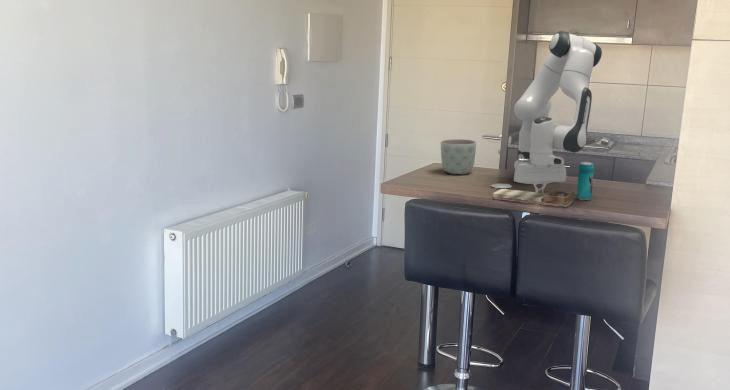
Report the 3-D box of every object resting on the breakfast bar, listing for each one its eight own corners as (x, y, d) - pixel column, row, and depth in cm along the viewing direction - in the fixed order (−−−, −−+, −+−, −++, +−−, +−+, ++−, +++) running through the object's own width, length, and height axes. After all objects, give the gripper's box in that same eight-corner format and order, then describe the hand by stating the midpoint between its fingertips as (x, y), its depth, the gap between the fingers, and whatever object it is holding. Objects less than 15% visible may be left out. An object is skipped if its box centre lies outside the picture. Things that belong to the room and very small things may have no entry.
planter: (466, 177, 334) (466, 145, 331) (433, 174, 343) (434, 142, 340) (481, 171, 348) (482, 140, 345) (449, 168, 357) (450, 138, 354)
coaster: (499, 183, 321) (499, 182, 321) (515, 187, 314) (515, 185, 314) (486, 186, 315) (486, 185, 315) (503, 190, 308) (503, 188, 308)
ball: (559, 194, 287) (568, 196, 285) (555, 203, 287) (565, 206, 285) (557, 190, 284) (567, 193, 282) (553, 199, 283) (563, 202, 281)
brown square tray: (541, 204, 283) (541, 195, 282) (548, 199, 291) (548, 190, 290) (566, 207, 278) (567, 197, 277) (573, 202, 286) (573, 192, 285)
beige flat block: (492, 199, 292) (493, 193, 292) (501, 194, 301) (501, 188, 300) (541, 204, 283) (541, 198, 282) (548, 199, 291) (548, 193, 290)
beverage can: (589, 201, 287) (591, 164, 284) (575, 200, 290) (577, 163, 287) (593, 198, 292) (595, 162, 288) (579, 197, 295) (581, 161, 291)
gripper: (515, 160, 281) (514, 194, 284) (568, 160, 281) (566, 194, 284) (513, 157, 287) (511, 191, 291) (564, 157, 287) (562, 191, 290)
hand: (539, 192), depth 287 cm, fingers closed
